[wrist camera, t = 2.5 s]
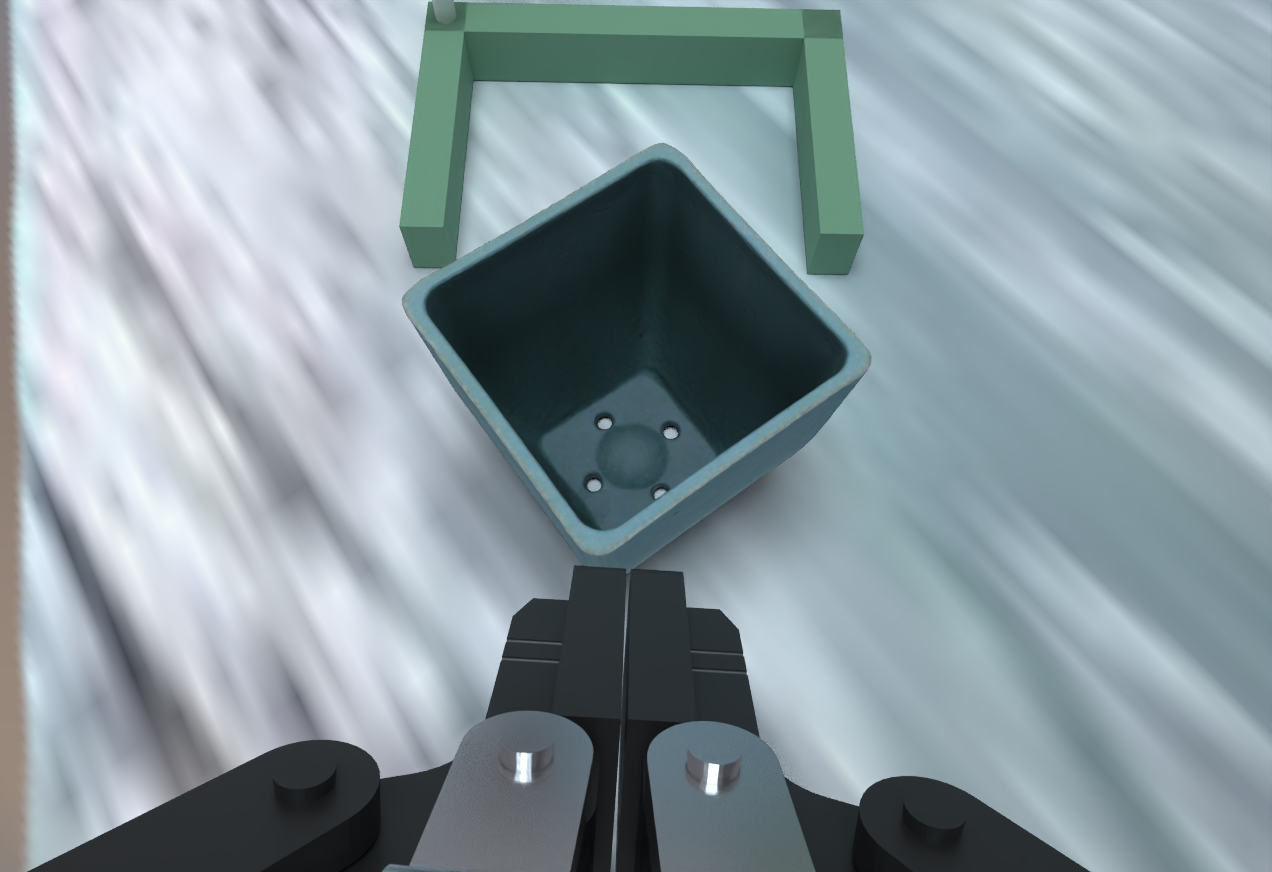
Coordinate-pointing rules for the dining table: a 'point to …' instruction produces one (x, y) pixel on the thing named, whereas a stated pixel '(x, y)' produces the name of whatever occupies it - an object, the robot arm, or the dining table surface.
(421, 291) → the flower pot
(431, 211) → the green u-shaped frame
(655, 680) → the robot arm
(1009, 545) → the dining table surface
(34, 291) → the dining table surface
